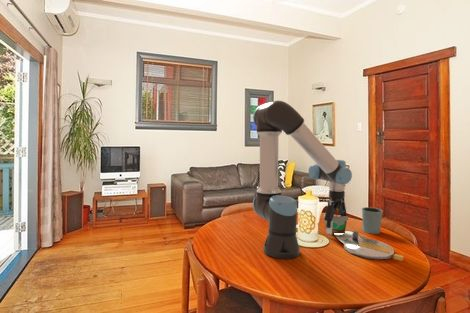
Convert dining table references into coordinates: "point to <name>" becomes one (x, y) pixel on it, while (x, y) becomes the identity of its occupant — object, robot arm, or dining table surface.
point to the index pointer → (398, 257)
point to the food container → (338, 224)
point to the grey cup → (371, 220)
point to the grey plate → (368, 248)
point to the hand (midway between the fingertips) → (335, 231)
